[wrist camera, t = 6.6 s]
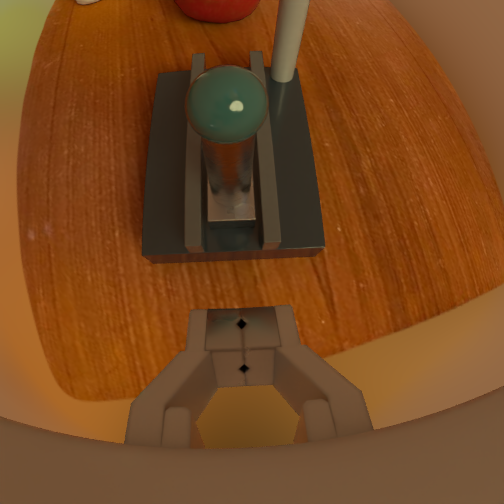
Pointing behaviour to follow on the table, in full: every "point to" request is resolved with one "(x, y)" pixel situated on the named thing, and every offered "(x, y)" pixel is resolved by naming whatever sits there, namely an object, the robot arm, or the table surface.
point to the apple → (217, 9)
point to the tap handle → (228, 139)
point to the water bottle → (86, 1)
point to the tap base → (264, 167)
